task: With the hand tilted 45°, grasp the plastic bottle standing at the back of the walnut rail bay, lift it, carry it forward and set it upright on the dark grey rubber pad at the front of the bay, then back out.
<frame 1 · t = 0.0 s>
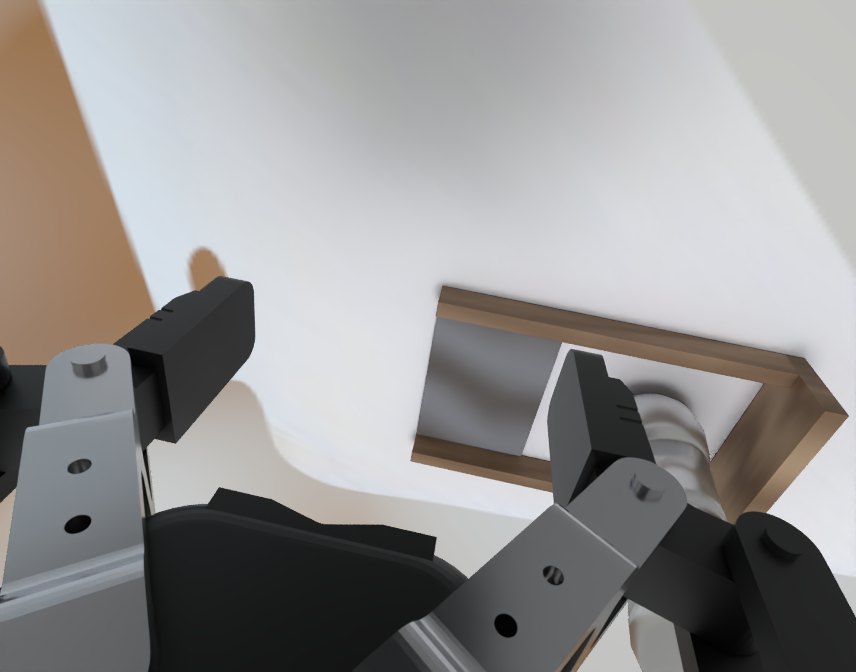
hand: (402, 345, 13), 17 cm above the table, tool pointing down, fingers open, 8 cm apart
bay: (584, 405, 35), on the table
plastic bottle: (641, 415, 35), resting in bay
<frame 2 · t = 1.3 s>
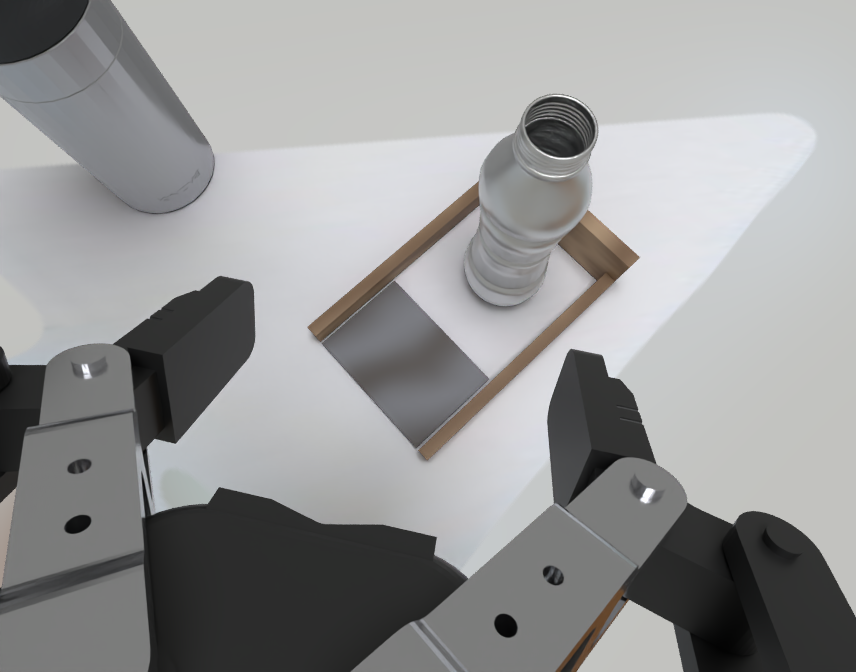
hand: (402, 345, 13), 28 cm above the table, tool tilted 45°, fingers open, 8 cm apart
bay: (466, 306, 42), on the table
plastic bottle: (499, 276, 43), resting in bay
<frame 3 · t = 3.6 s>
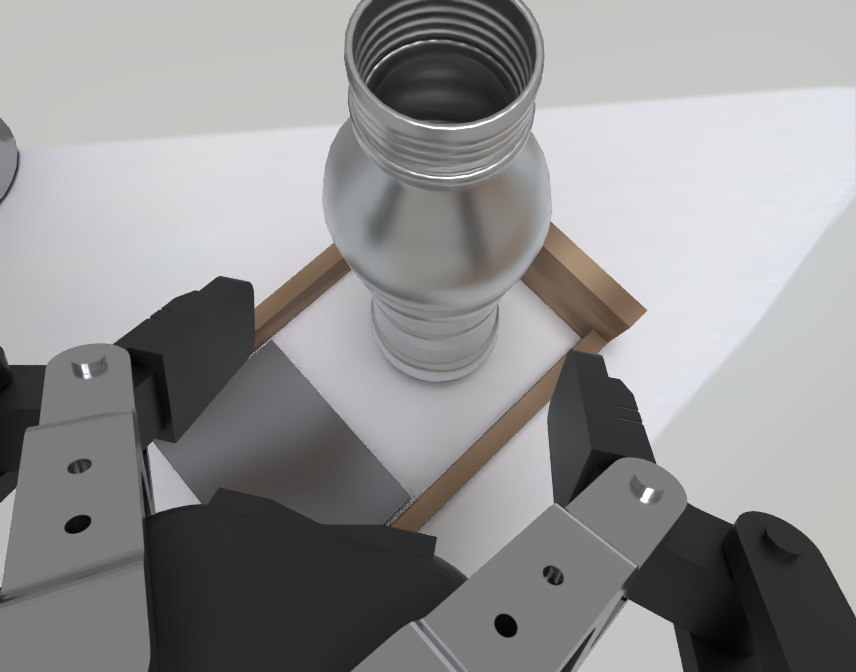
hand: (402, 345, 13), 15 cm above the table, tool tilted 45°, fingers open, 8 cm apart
bay: (380, 379, 28), on the table
plastic bottle: (433, 332, 29), resting in bay
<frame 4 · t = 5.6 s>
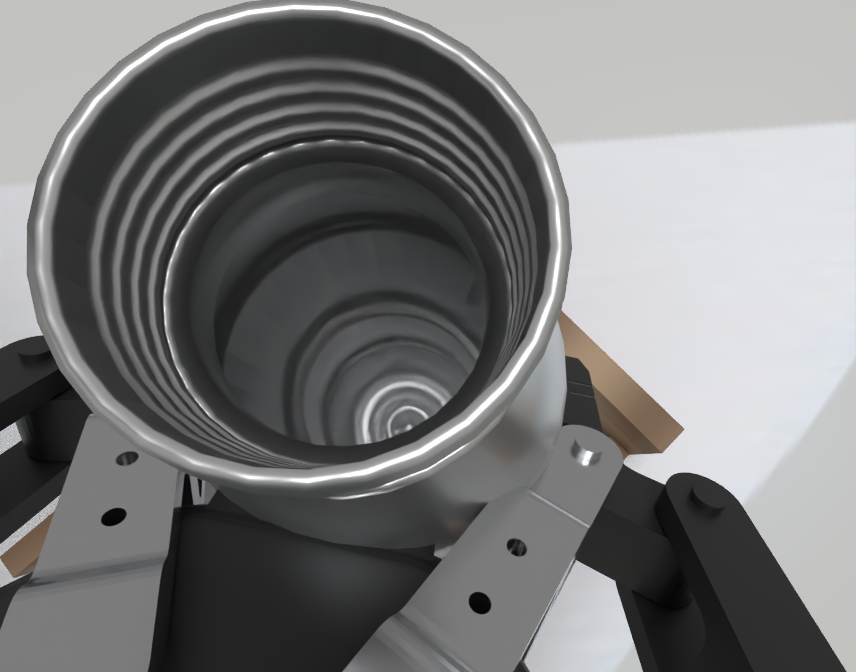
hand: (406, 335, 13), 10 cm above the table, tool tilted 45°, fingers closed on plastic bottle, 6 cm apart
bay: (341, 491, 22), on the table
plastic bottle: (408, 428, 23), resting in bay, touching gripper
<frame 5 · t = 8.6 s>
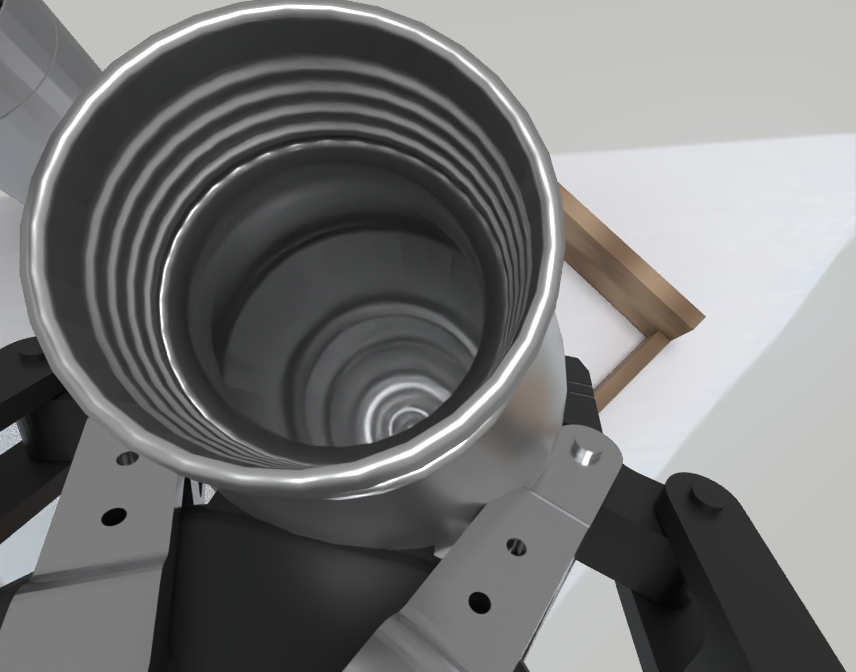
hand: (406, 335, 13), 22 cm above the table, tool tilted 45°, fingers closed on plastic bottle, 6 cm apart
bay: (489, 368, 35), on the table
plastic bottle: (411, 429, 23), point 12 cm above the table, touching gripper
when the fingers open (12 cm above the table, at t = 12.0 s): plastic bottle stays where it is, resting on bay.
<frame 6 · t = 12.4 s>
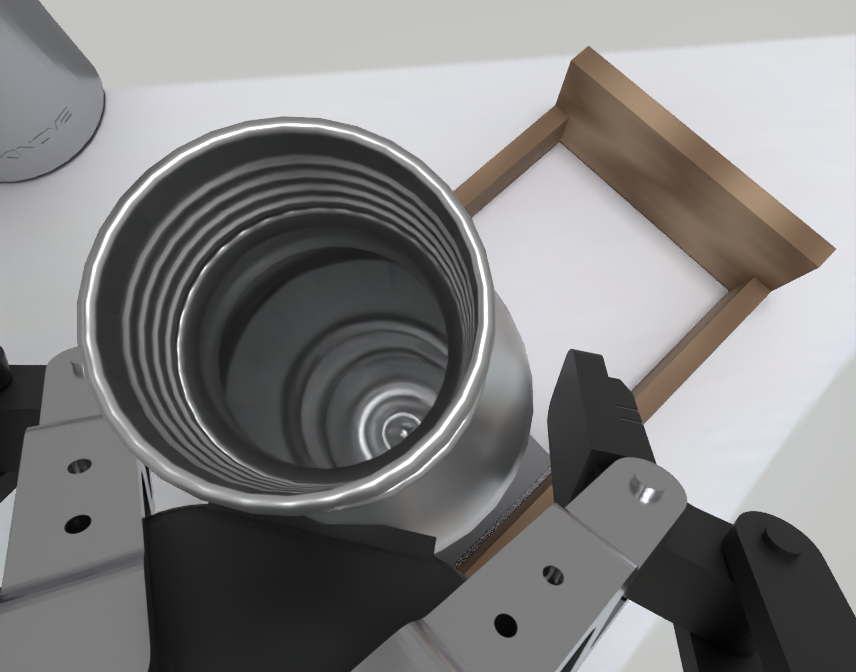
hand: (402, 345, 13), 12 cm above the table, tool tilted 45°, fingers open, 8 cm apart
bay: (512, 333, 25), on the table
plastic bottle: (403, 433, 24), resting on bay
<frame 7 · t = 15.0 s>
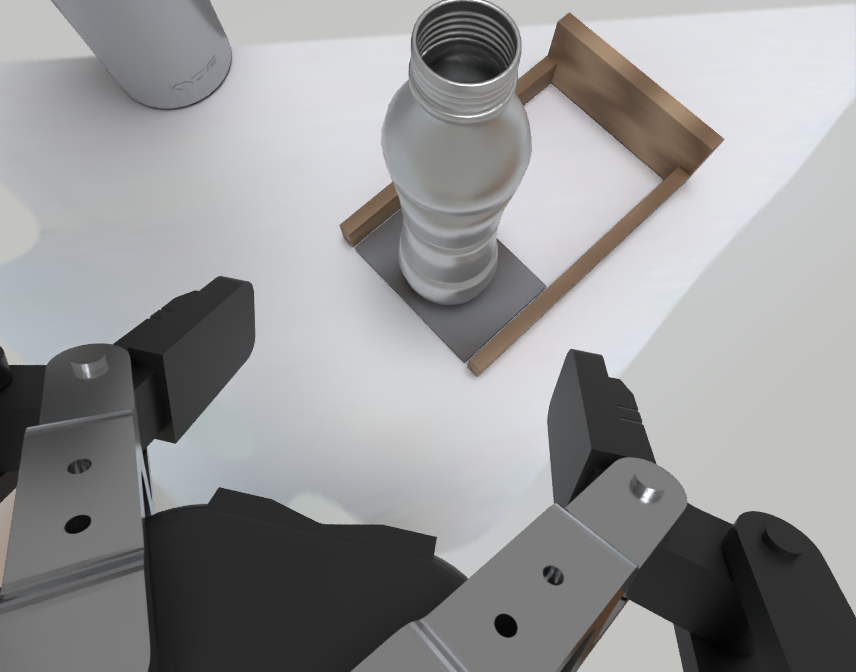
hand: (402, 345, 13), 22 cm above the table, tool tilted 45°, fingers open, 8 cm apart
bay: (518, 208, 37), on the table
plastic bottle: (446, 270, 36), resting on bay
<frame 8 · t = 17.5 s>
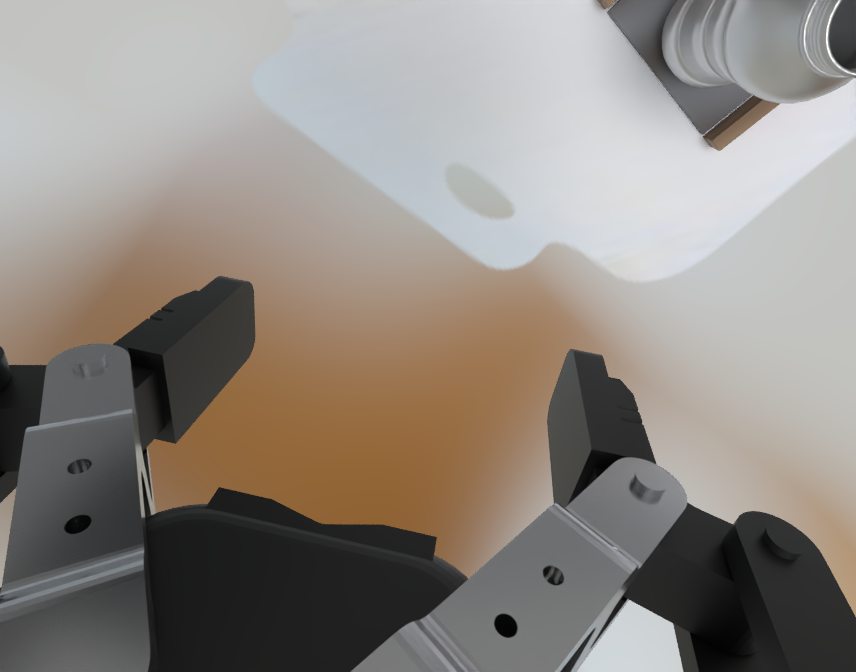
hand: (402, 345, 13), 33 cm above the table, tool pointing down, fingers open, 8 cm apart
plastic bottle: (703, 32, 35), resting on bay
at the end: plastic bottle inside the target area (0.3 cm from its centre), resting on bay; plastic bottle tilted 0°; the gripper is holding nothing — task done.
